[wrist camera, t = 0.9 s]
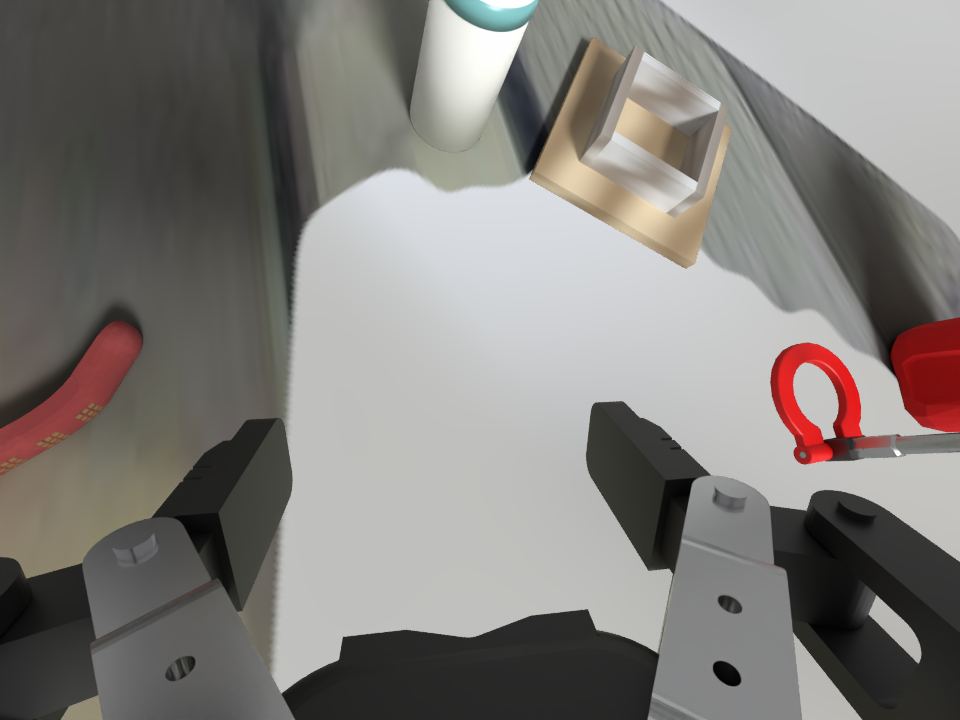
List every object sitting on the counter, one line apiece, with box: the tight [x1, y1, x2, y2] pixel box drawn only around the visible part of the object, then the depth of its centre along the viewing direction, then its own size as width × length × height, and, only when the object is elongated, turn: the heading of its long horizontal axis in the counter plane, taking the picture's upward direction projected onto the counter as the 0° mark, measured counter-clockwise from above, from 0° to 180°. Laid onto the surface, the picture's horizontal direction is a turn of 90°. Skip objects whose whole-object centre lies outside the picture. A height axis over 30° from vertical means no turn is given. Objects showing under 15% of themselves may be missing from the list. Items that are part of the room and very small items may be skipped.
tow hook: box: [770, 343, 960, 464], centre depth 30 cm, size 8×13×9 cm
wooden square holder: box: [529, 37, 732, 268], centre depth 33 cm, size 14×14×4 cm
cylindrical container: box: [410, 0, 539, 152], centre depth 26 cm, size 5×5×11 cm
